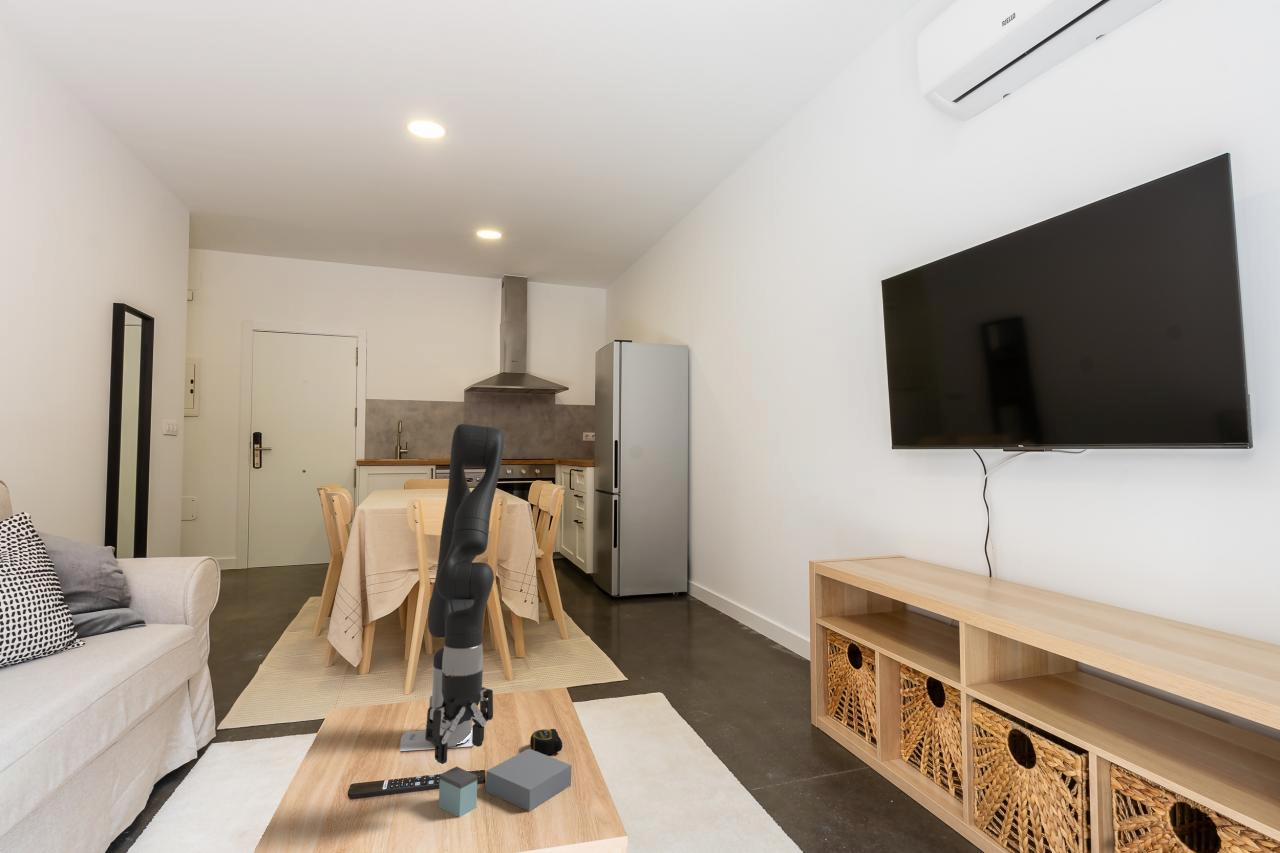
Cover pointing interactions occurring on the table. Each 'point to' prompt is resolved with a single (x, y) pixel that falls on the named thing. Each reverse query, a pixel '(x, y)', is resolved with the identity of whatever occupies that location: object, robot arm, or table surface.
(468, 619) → the robot arm
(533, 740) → the tape measure
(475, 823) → the table surface
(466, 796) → the block
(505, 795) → the stand
